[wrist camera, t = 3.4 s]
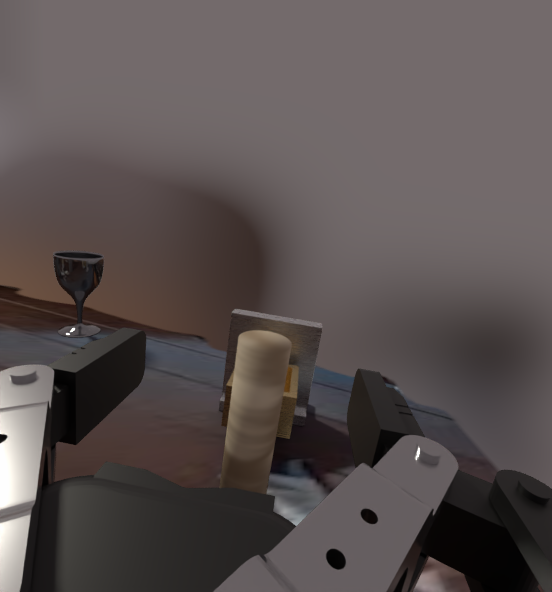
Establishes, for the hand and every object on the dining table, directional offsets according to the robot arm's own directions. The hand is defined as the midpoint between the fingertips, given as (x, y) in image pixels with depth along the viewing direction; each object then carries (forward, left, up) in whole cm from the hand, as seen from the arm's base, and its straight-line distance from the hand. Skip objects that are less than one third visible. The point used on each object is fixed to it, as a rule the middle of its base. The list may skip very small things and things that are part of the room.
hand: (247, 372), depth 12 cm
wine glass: (+19, +56, -21) cm, 63 cm away
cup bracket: (+23, +14, -21) cm, 34 cm away
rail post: (+10, +6, -21) cm, 24 cm away
